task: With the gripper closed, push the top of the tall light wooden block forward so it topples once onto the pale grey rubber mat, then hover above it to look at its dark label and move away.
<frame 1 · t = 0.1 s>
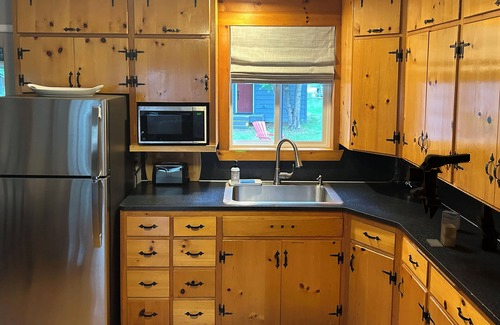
hand: (428, 216, 257), 15 cm above the worktop, tool pointing down, fingers open, 9 cm apart
medicine box: (450, 228, 290), on the worktop
wooden block: (447, 244, 263), on the worktop
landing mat: (434, 243, 264), on the worktop
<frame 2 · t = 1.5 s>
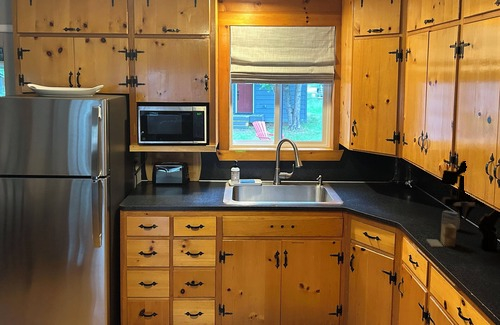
hand: (462, 219, 261), 12 cm above the worktop, tool pointing down, fingers closed
nothing on the worktop moved.
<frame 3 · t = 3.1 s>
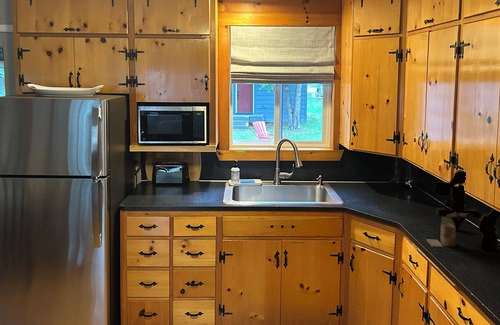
hand: (456, 230, 262), 7 cm above the worktop, tool pointing down, fingers closed
wooden block: (447, 244, 263), on the worktop, touching gripper
everything else where it was.
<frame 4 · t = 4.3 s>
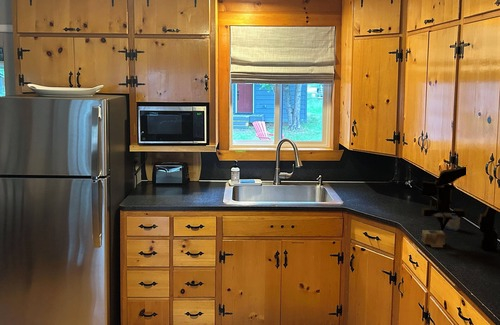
hand: (441, 230, 262), 7 cm above the worktop, tool pointing down, fingers closed
wooden block: (443, 237, 263), point 3 cm above the worktop, tilted 90°, touching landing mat
everything else where it was.
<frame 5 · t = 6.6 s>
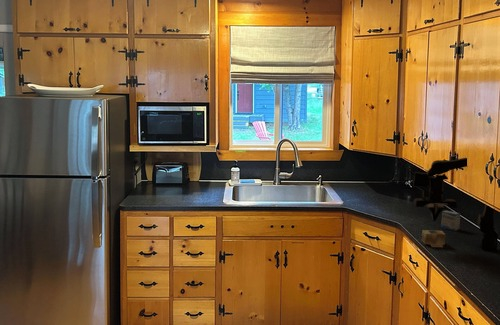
hand: (434, 220, 262), 11 cm above the worktop, tool pointing down, fingers closed
nothing on the worktop moved.
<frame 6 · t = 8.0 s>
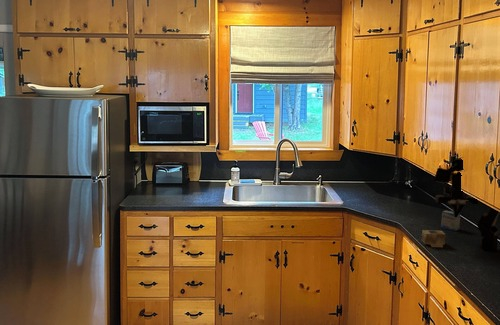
hand: (455, 217, 265), 12 cm above the worktop, tool pointing down, fingers closed
nothing on the worktop moved.
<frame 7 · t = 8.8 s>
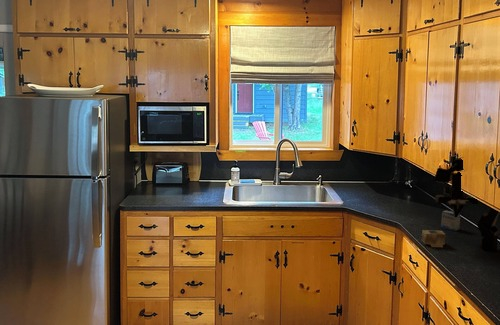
hand: (455, 217, 265), 12 cm above the worktop, tool pointing down, fingers closed
nothing on the worktop moved.
at the end: wooden block tilted 90°; wooden block touching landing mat; wooden block inside the target area (3.7 cm from its centre), point 3.1 cm above the worktop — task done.
